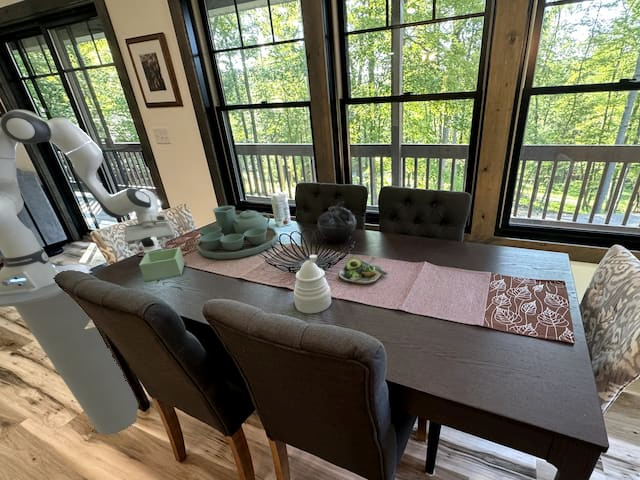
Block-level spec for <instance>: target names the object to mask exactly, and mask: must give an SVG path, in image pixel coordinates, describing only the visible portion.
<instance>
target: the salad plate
mask: <svg viewBox="0 0 640 480" xmlns="http://www.w3.org/2000/svg"><path fill="white" fill-rule="evenodd" d="M388 274H389V273H388V272H387V271H385V270H383V267H382V266H381V265H379V264H375V263H368V262H365V261H364V260H362V259H360V258H357V257H356V258H354V257H353V258H350V259H349V260H347V261H346V263H345V266H344V268H342V269H341V270H340V271H339V272H338V277H339V279H340V280H342V281H344V282H345V283H346V282H347V283H352V284H358V285H359V284H362V285H363V284H364V285H369V284H372V283H376V282H378V280H379V278H380V277H381V276H386V275H388Z"/></svg>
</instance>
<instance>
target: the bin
mask: <svg viewBox="0 0 640 480" xmlns="http://www.w3.org/2000/svg"><path fill="white" fill-rule="evenodd" d="M185 264H186V262H185V258H184V255H183V253H182V249H181V247H179V246H178V247H174V248H173V247H172V248H168V249H162V250H160V251H154V252H147V253H146V254H145V255H144V256H143V257H142V259H141V260H140V262H139V264H138V266H139V268H140V271H141V273H142V277H143V278H144V281H145V282H150V281H156V280H161V279H166V278H172V277H179V276H182V274H183V271H184V267H185Z"/></svg>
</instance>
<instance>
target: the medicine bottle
mask: <svg viewBox="0 0 640 480" xmlns="http://www.w3.org/2000/svg"><path fill="white" fill-rule="evenodd" d="M141 242H142V243H141V244H142V247H143V254H144V256H145V254H146V253H147V252H154V251H160V250H163V247H162V248H161V246H160V243H159V240H157V238H156V237H146V238H144V239H142V241H141Z"/></svg>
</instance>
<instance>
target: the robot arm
mask: <svg viewBox="0 0 640 480" xmlns="http://www.w3.org/2000/svg"><path fill="white" fill-rule="evenodd" d="M47 142H50V143H52V144H53V145H55V147H57V148H58V149H59V150H60V151H61V152H62V153H63V154H64V155H65V156H66V157H67V158H68V159H69V160H70V162H71V164H72V166H73V169H72V170H73V172H74V174H75V176H76V177H77V178H78V180H79V181H80V182H81V184H82V185H83V186H84V187H85V188H86V190H87V191H88V193H90V195H91V196H92V197H93V198H94V199H95V200H96V202H97V203H98V205H99V206H100V208H101V210H102V211H103V213H104V214H106V215H107V216H108V217H111V218H114V219H122V218H123V217H126V216H127V215H128V214H131V213H137V215H136V217H137V223H134V224H133V223H132V224H127V226H124V228H123V231H124V241H125V242H126V243H127V244H129V245H134V244H135V245H136V246H137V250H138V251H139V252H142V251H143V252H144V250H143V248H144V247H143V245H141V244H142V242H141V241H142V239H144V238H146V237H156V238H157V241H161V242H159V244H160V246H161V248H162V249H163V248H165V247H166V243H167V242H168V239H174V238H175V237H176V231H175V228H174V227H173V225H172V222H171V220H170V218H169V217H168V216H166V215H160V214H159V203H158V199H157V197H156V195H155V193H154V192H152V191H150V190H148V189H138V188H135V187H128V188H126V189H124V190H121V191H119V192H117V193H115V194H114V193H113V194H110V193H109V192H108V190H107V189H106V188H105V187H104V185H102V183H101V182H100V181H99V179H98V178H97V171H98V170H99V168H100V166H101V165H102V163H103V160H104V156H103V152H102V149H101V148H100V147H99V146H98V145H97V144H96V142H95V141H93V139H92V138H91V137H90V136H89V135H88V134H87V133H86V132H84V130H83V129H81V128H80V127H79V126H78V125H77V124H75V123H74V122H73V121H71V120H70V119H68V118H66V117H54V118H51V119H48V120H46V119H44V118H43V117H41V116H40V115H39V114H38V113H37V112H33V111H32V110H28V109H19V108H18V109H12V110H9V111H8V112H5V113H4V114H2V116H1V118H0V252H1V254H2V255H3V257H1V258H0V264H2V263H3V267H2V268H1V269H0V296H4V295H14V294H23V293H31V292H34V291H36V290H38V289H40V288H43V287H46V286H49V285H51V284H53V283H55V281H54V279H53V278H54V277H55V275H57V274H58V273H59V272H58V271H57V270H56V269H55V267H56V266H55V265H54V264H52V262H51V261H50V258H49V256H48V254H47V253H46V251H45V249H44V248H43V247H41V244H40V243H39V241H38V239H37V237H36V236H35V234H34V232H33V231H32V230H31V229H30V228H29V227H27V226H26V225H25V224H24V223H23V222H22V221H21V220H20V218H19V217H18V214H19V213H21V211H22V210H23V207H24V205H25V204H24V199H23V196H22V193H21V190H20V186H19V181H18V174H17V173H18V172H17V145H18V144H19V143H20V144H23V145H34V144H39V143H47Z"/></svg>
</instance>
